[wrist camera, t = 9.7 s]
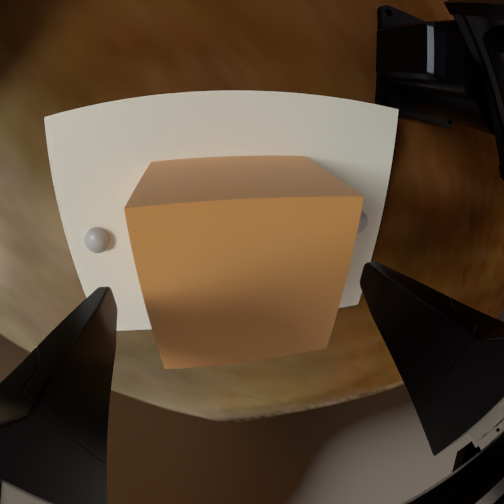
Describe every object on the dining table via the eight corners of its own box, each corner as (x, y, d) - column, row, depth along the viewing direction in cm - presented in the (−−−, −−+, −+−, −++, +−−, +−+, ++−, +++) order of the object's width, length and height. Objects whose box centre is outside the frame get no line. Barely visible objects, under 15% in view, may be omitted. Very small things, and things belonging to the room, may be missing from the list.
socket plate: (376, 105, 13) (402, 110, 11) (345, 286, 19) (359, 307, 17) (62, 112, 10) (41, 118, 8) (106, 308, 16) (99, 334, 14)
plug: (289, 147, 13) (363, 196, 8) (281, 257, 17) (326, 348, 11) (157, 152, 12) (124, 208, 6) (170, 266, 16) (165, 369, 10)
